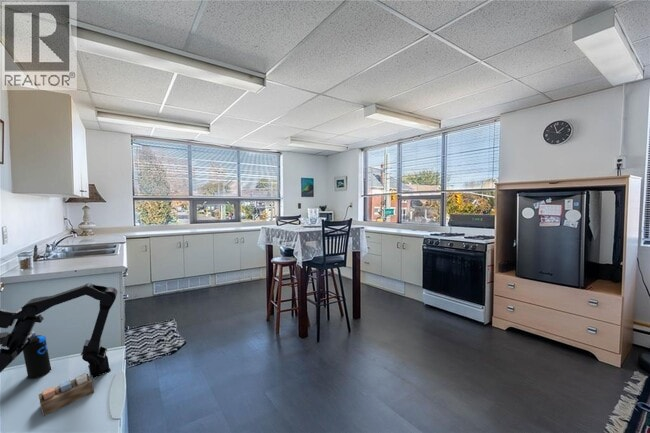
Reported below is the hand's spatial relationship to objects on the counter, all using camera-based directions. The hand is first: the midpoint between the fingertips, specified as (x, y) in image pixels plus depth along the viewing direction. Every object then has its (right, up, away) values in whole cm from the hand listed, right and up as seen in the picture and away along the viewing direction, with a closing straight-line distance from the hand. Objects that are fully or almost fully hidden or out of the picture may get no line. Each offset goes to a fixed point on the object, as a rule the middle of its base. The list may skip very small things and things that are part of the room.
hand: (4, 367), depth 118 cm
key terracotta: (+22, -11, -4) cm, 25 cm away
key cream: (+29, -9, +4) cm, 30 cm away
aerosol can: (-2, -12, +17) cm, 21 cm away
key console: (+25, -13, 0) cm, 29 cm away
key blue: (+25, -10, 0) cm, 27 cm away
